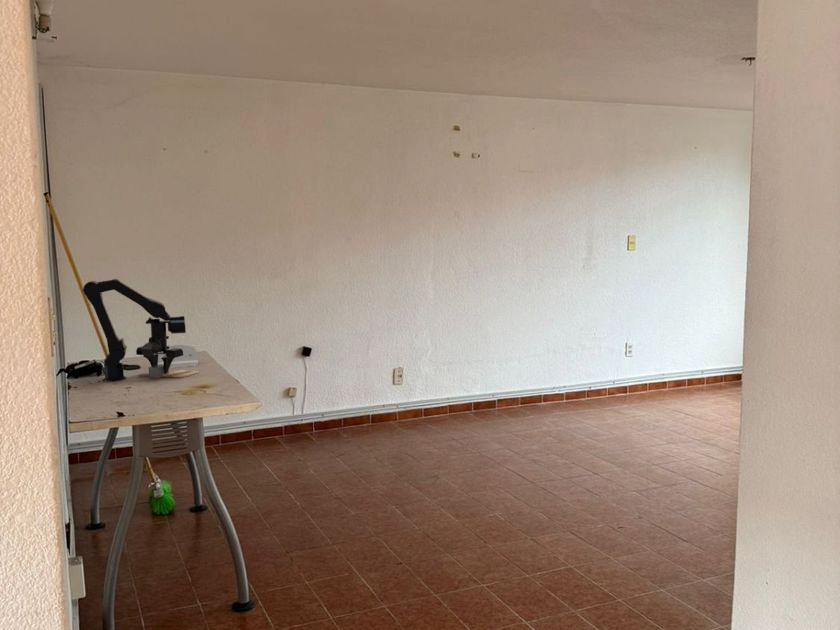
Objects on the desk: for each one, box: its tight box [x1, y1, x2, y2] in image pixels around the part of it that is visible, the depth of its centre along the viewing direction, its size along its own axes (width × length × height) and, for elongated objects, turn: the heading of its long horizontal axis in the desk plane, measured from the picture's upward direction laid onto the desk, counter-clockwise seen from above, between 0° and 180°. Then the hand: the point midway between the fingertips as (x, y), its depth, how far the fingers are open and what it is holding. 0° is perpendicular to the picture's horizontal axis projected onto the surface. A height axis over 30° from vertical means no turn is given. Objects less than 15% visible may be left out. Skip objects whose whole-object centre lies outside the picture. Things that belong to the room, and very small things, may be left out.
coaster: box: [162, 369, 200, 379], centre depth 318 cm, size 10×10×1 cm
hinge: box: [158, 344, 199, 369], centre depth 335 cm, size 17×5×10 cm, turn 107°
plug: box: [148, 364, 170, 379], centre depth 317 cm, size 4×9×4 cm
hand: (160, 373), depth 316 cm, fingers open, 5 cm apart
